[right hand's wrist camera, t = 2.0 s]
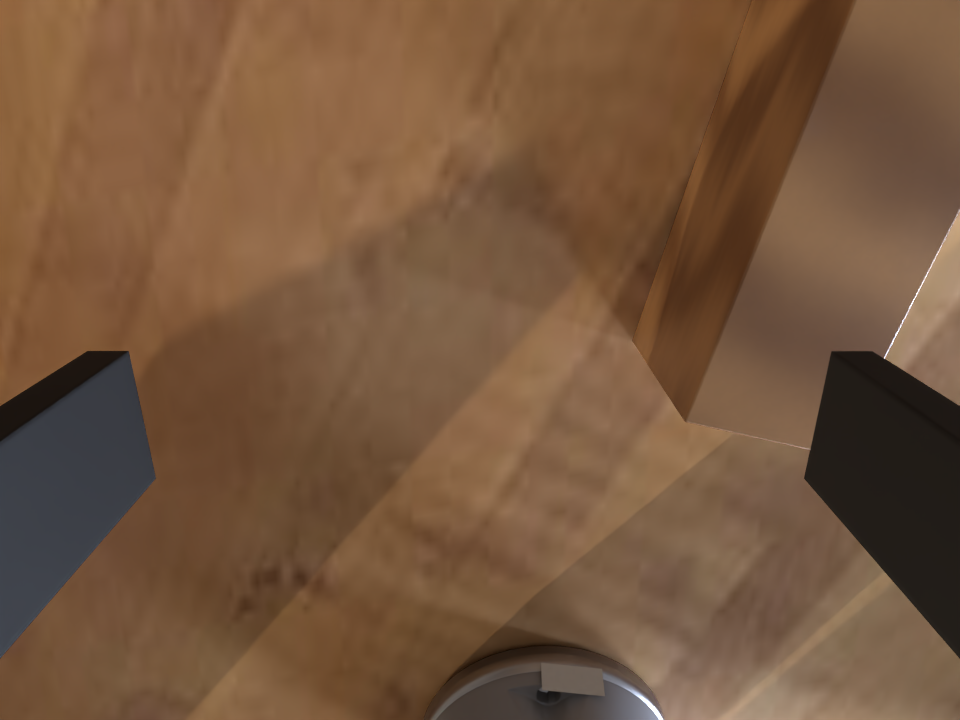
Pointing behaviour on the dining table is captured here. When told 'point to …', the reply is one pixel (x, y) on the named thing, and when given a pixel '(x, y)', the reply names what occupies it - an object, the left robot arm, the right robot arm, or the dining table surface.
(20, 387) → the dining table surface
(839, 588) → the dining table surface
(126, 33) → the dining table surface
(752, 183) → the wooden beam
